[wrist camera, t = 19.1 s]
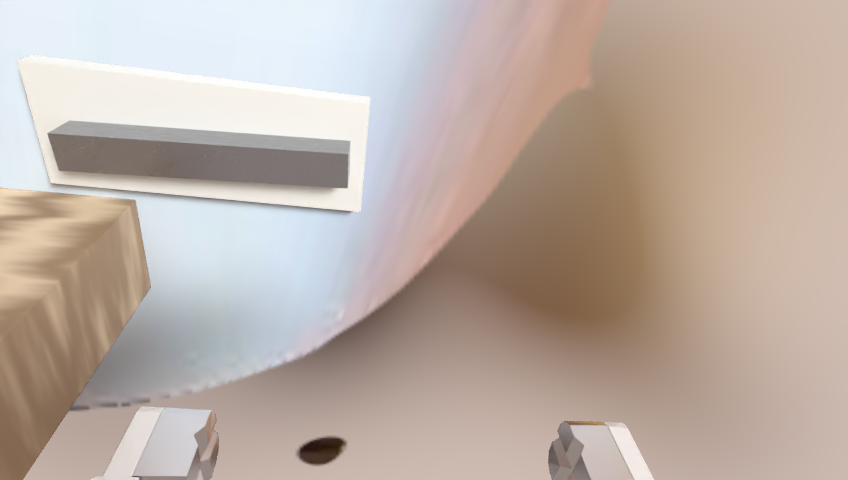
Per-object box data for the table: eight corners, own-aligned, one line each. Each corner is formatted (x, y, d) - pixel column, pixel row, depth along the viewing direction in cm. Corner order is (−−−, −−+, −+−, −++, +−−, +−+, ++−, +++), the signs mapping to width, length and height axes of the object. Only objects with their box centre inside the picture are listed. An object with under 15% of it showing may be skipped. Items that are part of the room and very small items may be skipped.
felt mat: (63, 173, 43) (50, 183, 41) (33, 54, 38) (16, 60, 36) (361, 201, 46) (360, 211, 45) (370, 97, 41) (369, 104, 39)
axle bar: (79, 156, 40) (58, 170, 37) (69, 120, 38) (47, 133, 36) (349, 173, 42) (347, 188, 40) (350, 140, 41) (348, 154, 38)
